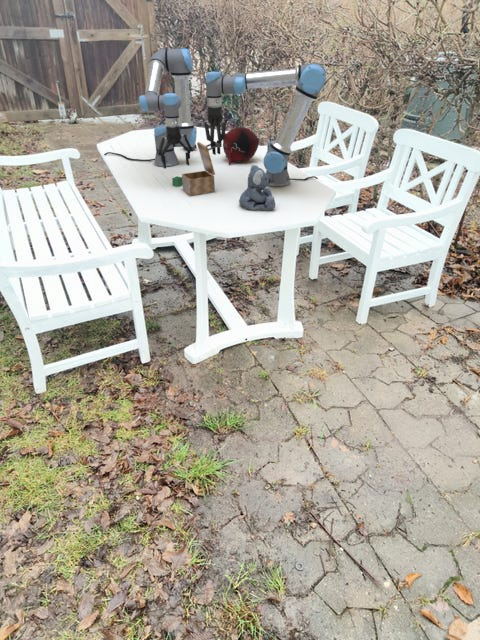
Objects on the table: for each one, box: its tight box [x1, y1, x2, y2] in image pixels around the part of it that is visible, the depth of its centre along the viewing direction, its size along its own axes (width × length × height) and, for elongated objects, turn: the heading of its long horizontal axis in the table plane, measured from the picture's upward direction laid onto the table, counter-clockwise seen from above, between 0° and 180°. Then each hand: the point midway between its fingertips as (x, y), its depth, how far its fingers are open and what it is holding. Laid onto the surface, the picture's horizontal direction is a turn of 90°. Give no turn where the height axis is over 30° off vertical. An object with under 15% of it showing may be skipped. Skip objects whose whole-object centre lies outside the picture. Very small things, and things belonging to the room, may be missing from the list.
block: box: [171, 176, 183, 188], centre depth 257 cm, size 4×4×4 cm
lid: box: [196, 140, 221, 176], centre depth 243 cm, size 15×12×9 cm
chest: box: [181, 170, 216, 197], centre depth 247 cm, size 14×12×9 cm
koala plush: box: [238, 164, 276, 211], centre depth 224 cm, size 17×18×20 cm
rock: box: [187, 143, 198, 151], centre depth 322 cm, size 12×9×10 cm
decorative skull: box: [222, 126, 260, 166], centre depth 295 cm, size 21×24×25 cm
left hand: (176, 166), depth 252 cm, fingers open, 13 cm apart
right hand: (216, 153), depth 243 cm, fingers closed on lid, 2 cm apart
